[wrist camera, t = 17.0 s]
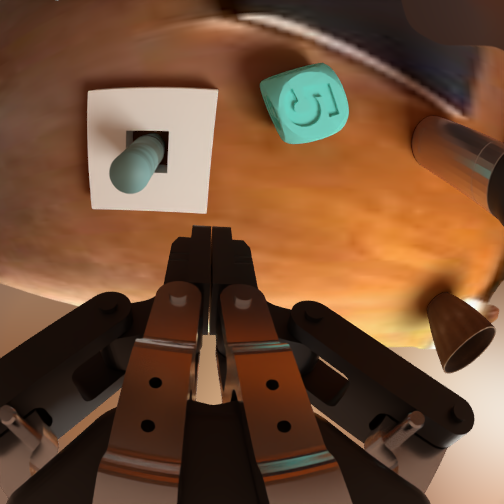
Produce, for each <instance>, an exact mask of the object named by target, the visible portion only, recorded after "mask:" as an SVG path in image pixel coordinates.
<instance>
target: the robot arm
mask: <svg viewBox="0 0 504 504" xmlns="http://www.w3.org/2000/svg"><path fill="white" fill-rule="evenodd" d="M412 150H413V154H414V157H415V159H416V161H417V162H418V163H419V164H420V165H421V166H422V167H424V168H426V169H427V170H429V171H430V172H432V173H434V174H435V175H437V176H438V177H440V178H441V179H443V180H444V181H446V182H447V183H449V184H450V185H452V186H453V187H455V188H456V189H458V190H459V191H461V192H462V193H464V194H465V195H466V196H468V197H469V198H471V199H472V200H473V201H475V202H476V203H477V204H479V205H480V206H482V207H483V208H484V209H486V210H487V211H488V212H490V213H491V214H492V215H494V216H495V217H496V218H497V219H498V220H499V221H500V222H501V224H502V225H503V226H504V143H502V142H500V141H498V140H496V139H494V138H491V137H489V136H487V135H485V134H482V133H480V132H478V131H475V130H473V129H470V128H468V127H465V126H463V125H460V124H458V123H455V122H453V121H450V120H447V119H444V118H441V117H438V116H429V117H426V118H424V119H423V120H422V121H421V122H420V123H419V124H418V125H417V127H416V129H415V131H414V134H413V138H412ZM208 318H209V329H210V335H216V361H217V368H218V376H219V382H220V389H221V396H222V404H218V405H209V404H205V403H201V402H197V401H196V391H197V380H198V370H199V360H200V349H201V347H202V336H203V335H208ZM319 356H320V357H321V358H322V359H324V360H325V361H326V362H328V363H329V364H330V365H332V366H333V367H334V368H336V369H337V370H339V371H340V372H341V373H343V374H344V375H345V376H346V377H347V378H348V380H347V379H346V378H344V377H343V376H341V375H340V374H339V373H337V372H336V371H334V370H333V369H332V368H330V367H329V366H327V365H326V364H325V363H324V362H322V361H321V360H320V359H319ZM120 388H121V392H120V396H119V400H118V404H117V407H116V408H113V409H111V410H109V411H107V412H106V413H104V414H103V415H101V416H100V417H99V418H98V419H96V420H95V421H94V422H93V423H92V424H91V425H90V426H89V427H88V428H86V429H85V430H84V431H83V432H82V433H81V434H80V435H79V436H77V437H76V438H75V439H74V440H73V441H72V442H71V443H70V444H69V445H67V446H66V447H65V448H64V449H63V450H62V451H60V452H59V453H58V449H59V443H58V439H59V438H60V437H61V436H63V435H64V434H65V433H66V432H68V431H69V430H70V429H71V428H73V427H74V426H75V425H76V424H78V423H79V422H80V421H81V420H83V419H84V418H85V417H86V416H87V415H89V414H90V413H91V412H92V411H94V410H95V409H96V408H97V407H98V406H100V405H101V404H102V403H103V402H105V401H106V400H107V399H108V398H109V397H111V396H112V395H113V394H114V393H115V392H117V391H118V390H119V389H120ZM310 403H311V404H312V405H313V406H314V407H316V408H317V409H318V410H319V411H321V412H322V413H323V414H325V415H326V416H327V417H329V418H330V419H331V420H333V421H334V422H335V423H337V424H338V425H339V426H341V427H342V428H343V429H345V430H346V431H347V432H349V433H350V434H352V435H353V436H354V437H356V438H357V439H358V440H360V441H361V442H363V443H364V449H365V450H364V449H363V448H361V447H360V446H359V445H357V444H356V443H355V442H354V441H352V440H351V439H350V438H348V437H347V436H346V435H344V434H343V433H342V432H341V431H339V430H338V429H337V428H336V427H335V426H333V425H332V424H331V423H330V422H328V421H327V420H326V419H324V418H323V417H321V416H320V415H318V414H316V413H314V412H313V409H312V407H311V404H310ZM473 424H474V413H473V410H472V408H471V406H470V405H469V403H468V402H467V401H466V400H464V399H463V398H462V397H460V396H459V395H457V394H456V393H454V392H453V391H451V390H450V389H448V388H447V387H445V386H444V385H442V384H440V383H439V382H438V381H436V380H435V379H433V378H432V377H430V376H429V375H427V374H426V373H424V372H423V371H421V370H420V369H418V368H417V367H415V366H414V365H412V364H411V363H409V362H408V361H406V360H405V359H403V358H402V357H400V356H399V355H397V354H396V353H394V352H393V351H392V350H390V349H389V348H387V347H386V346H384V345H383V344H381V343H380V342H378V341H377V340H375V339H374V338H372V337H371V336H369V335H368V334H366V333H365V332H363V331H362V330H360V329H359V328H357V327H356V326H354V325H353V324H351V323H350V322H349V321H347V320H346V319H344V318H343V317H341V316H340V315H338V314H337V313H335V312H334V311H332V310H331V309H329V308H328V307H326V306H325V305H323V304H321V303H318V302H315V301H301V302H298V303H297V304H295V305H294V306H293V308H292V310H290V309H286V308H282V307H279V306H275V305H273V304H271V303H269V302H267V301H266V299H265V296H264V295H263V293H262V292H261V291H260V290H258V287H257V281H256V276H255V271H254V266H253V261H252V256H251V250H250V247H249V246H248V245H247V244H246V243H245V242H244V241H243V240H232V233H231V227H215V226H213V227H212V238H211V226H197V225H193V228H192V236H191V238H189V237H178V238H177V239H176V240H175V241H174V242H173V243H172V246H171V251H170V255H169V260H168V265H167V270H166V275H165V281H164V285H163V286H161V287H160V288H159V289H158V291H157V293H156V296H155V297H153V298H151V299H149V300H146V301H141V302H135V303H131V302H130V300H129V299H128V297H126V296H125V295H124V294H121V293H118V292H105V293H101V294H99V295H97V296H95V297H93V298H92V299H90V300H88V301H87V302H85V303H84V304H82V305H80V306H79V307H77V308H76V309H74V310H73V311H71V312H69V313H68V314H66V315H65V316H63V317H62V318H60V319H58V320H57V321H55V322H54V323H52V324H51V325H49V326H48V327H46V328H45V329H43V330H42V331H40V332H39V333H37V334H36V335H34V336H33V337H31V338H30V339H28V340H27V341H25V342H24V343H22V344H21V345H19V346H18V347H16V348H15V349H13V350H12V351H10V352H9V353H7V354H6V355H5V356H3V357H2V358H0V486H1V488H2V489H3V491H4V493H5V494H6V496H7V497H8V501H7V503H6V504H430V501H429V500H428V498H427V497H426V495H425V494H424V493H425V492H426V490H427V488H428V486H429V484H430V483H431V481H432V479H433V477H434V475H435V473H436V471H437V469H438V467H439V465H440V462H441V461H442V458H443V456H444V454H445V452H446V450H447V448H448V447H449V446H451V445H452V444H453V443H455V442H456V441H458V440H459V439H460V438H462V437H463V436H464V435H466V434H467V433H468V432H469V431H470V430H471V429H472V427H473ZM57 453H58V454H57Z"/></svg>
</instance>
